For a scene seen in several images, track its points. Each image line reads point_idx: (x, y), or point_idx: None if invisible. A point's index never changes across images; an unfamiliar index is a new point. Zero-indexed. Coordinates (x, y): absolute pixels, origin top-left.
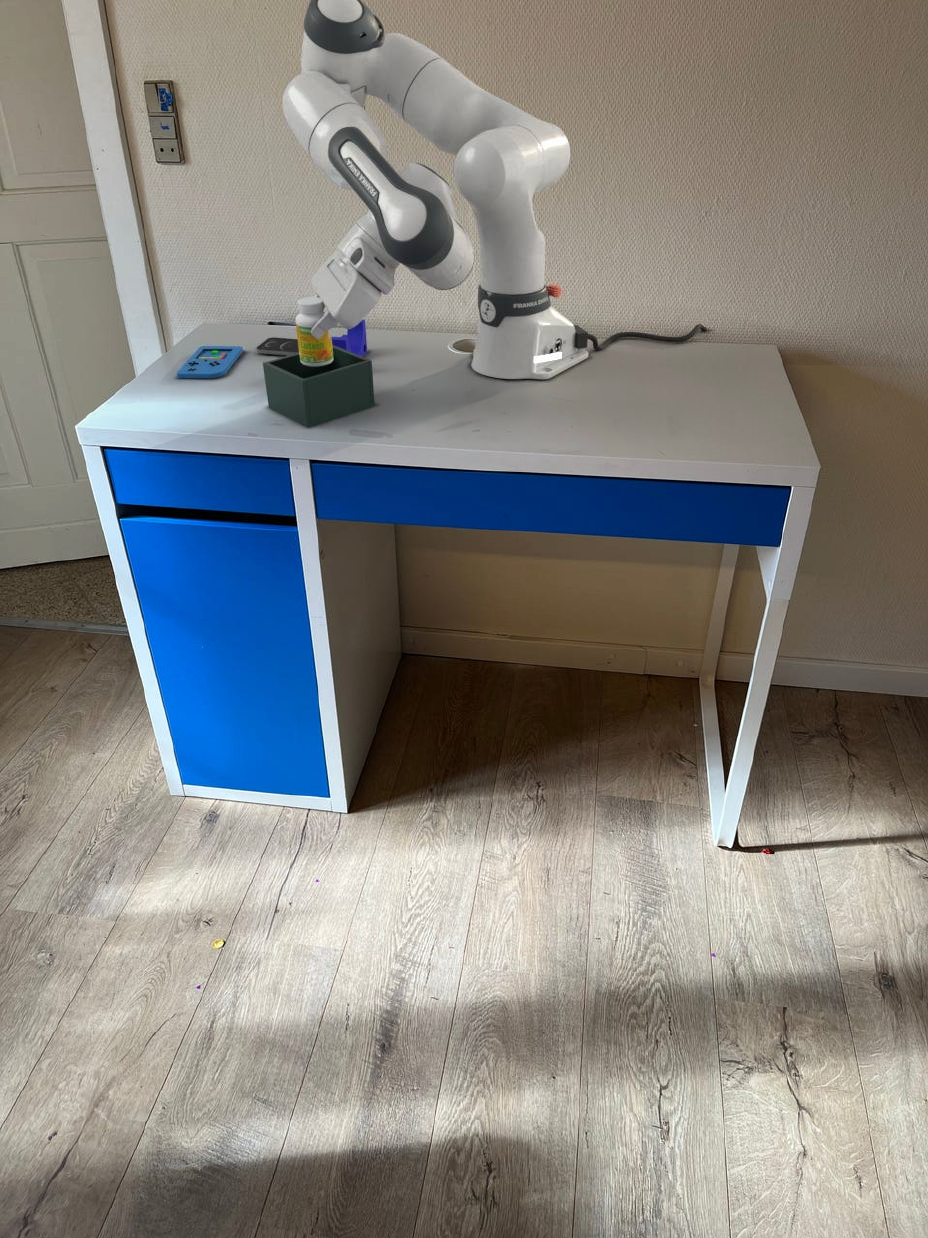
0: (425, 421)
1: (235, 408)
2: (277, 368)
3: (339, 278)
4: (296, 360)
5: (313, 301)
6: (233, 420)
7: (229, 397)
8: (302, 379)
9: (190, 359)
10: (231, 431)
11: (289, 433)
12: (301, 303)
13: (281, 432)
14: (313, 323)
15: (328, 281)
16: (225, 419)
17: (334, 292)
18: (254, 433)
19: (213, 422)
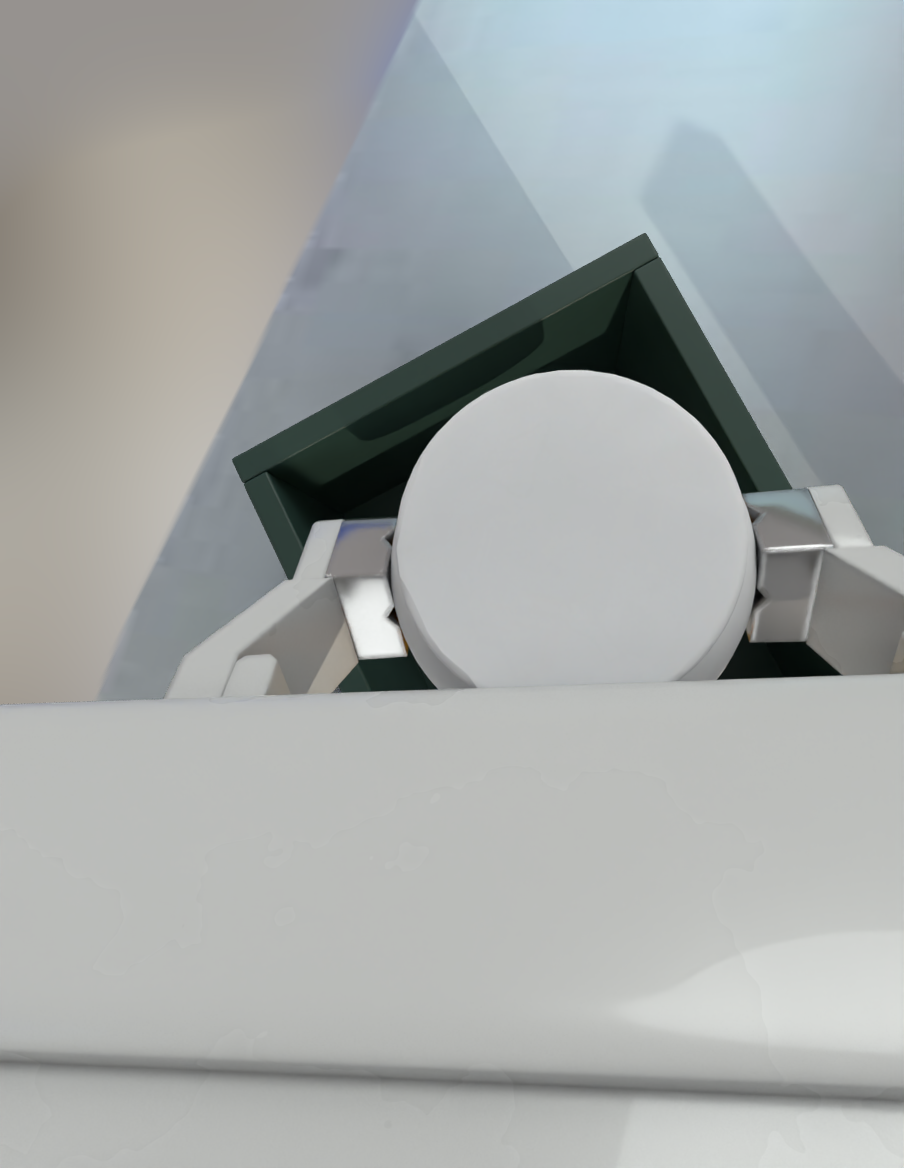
0: None
1: (662, 191)
2: (499, 323)
3: (471, 1143)
4: (735, 472)
5: (508, 571)
6: (509, 184)
7: (829, 159)
8: (257, 461)
9: None
10: (383, 177)
11: (285, 423)
12: (465, 406)
13: (306, 390)
14: (392, 552)
15: (782, 907)
16: (532, 148)
17: (161, 877)
18: (331, 274)
19: (512, 96)
